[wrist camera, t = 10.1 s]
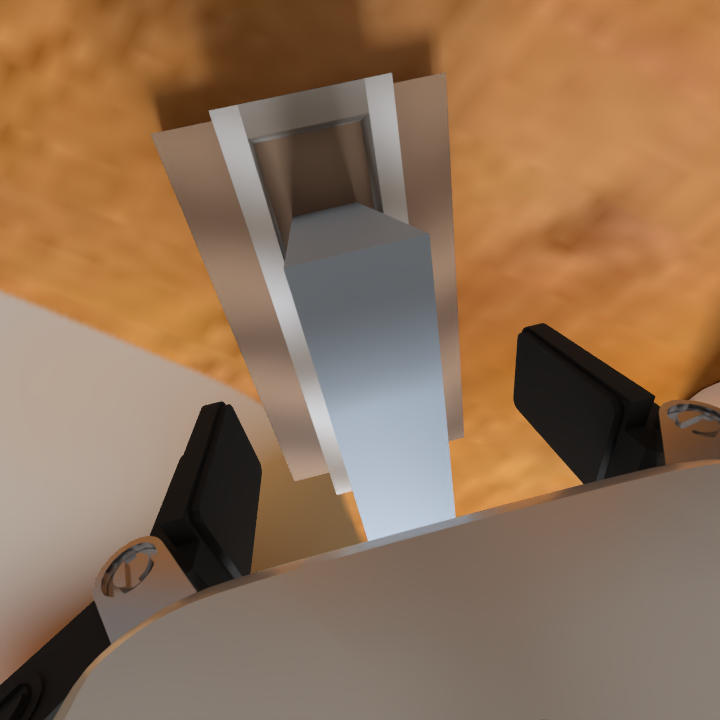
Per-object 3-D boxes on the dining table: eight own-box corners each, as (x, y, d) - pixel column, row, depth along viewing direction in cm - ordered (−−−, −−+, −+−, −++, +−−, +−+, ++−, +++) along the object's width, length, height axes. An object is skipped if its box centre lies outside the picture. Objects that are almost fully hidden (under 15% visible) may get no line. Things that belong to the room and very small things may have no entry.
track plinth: (163, 137, 15) (127, 127, 12) (433, 81, 15) (466, 57, 12) (294, 464, 24) (294, 506, 21) (455, 423, 25) (477, 458, 22)
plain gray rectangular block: (292, 217, 15) (283, 268, 7) (356, 202, 16) (429, 233, 7) (348, 419, 21) (382, 586, 13) (394, 407, 21) (459, 564, 13)
